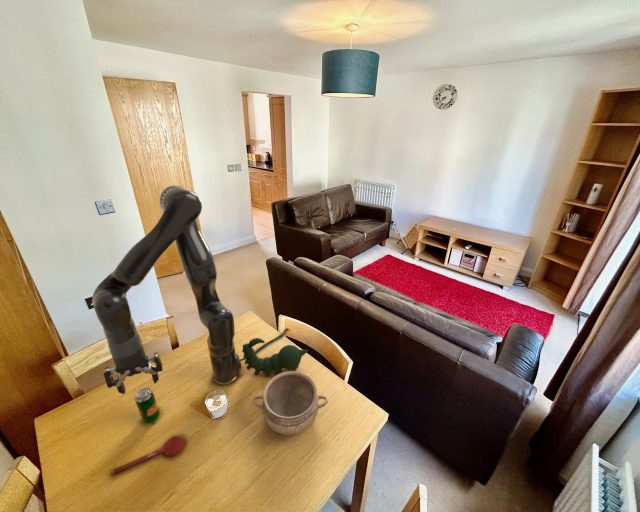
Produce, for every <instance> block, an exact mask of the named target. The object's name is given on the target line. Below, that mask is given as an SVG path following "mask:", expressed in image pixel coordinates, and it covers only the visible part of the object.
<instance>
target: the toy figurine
mask: <svg viewBox="0 0 640 512" xmlns="http://www.w3.org/2000/svg"><path fill="white" fill-rule="evenodd" d="M259 344H266V343H265V340H264V339H262V338H260V337H256V338H252V339H250V340H249V342H248V343H244V344H242V351H241V352H242V353H243V356H242V358H246V359H245V360H244V364H245V365H246V366H245V367H246V370H247V371H249V370H251V369H254V375H255V376H256V377H257V376H260V374H261V372H262V373H263V374H265V377H266V378H269V377H270V376H271V375H272V373H273V372H275V375H278V374H280V373H283V370H285V371H286V370H287V371H297V369H298V368H299V365H300V364H301V360H302V357H303V356H305V355H306V354H307V353H308V352H309V350H308V349H300V348H299V347H298V346H295V345H292V344H287V345H285V346H282V347H281V348H280V350H278V353H274V354H272V355H271V356H270V357H269V356H267V357H263V358H262V357H259V356H258V355H257V353H255V349H254V348H253V347H255V346H256V345H259Z"/></svg>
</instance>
